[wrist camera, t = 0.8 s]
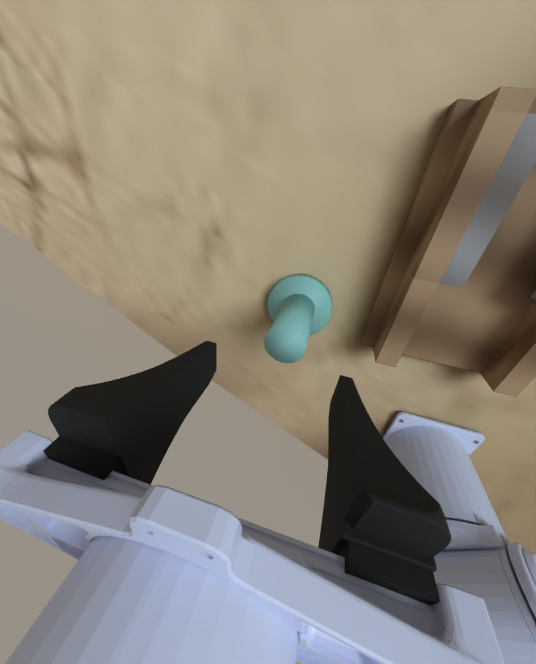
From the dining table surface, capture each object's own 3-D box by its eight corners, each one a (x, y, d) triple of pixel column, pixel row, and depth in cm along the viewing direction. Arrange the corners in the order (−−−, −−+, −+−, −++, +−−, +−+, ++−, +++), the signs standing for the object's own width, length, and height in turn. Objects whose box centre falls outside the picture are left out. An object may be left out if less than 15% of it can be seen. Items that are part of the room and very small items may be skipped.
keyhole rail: (507, 372, 21) (531, 401, 18) (360, 338, 22) (362, 359, 20) (718, 126, 12) (824, 109, 9) (451, 103, 14) (477, 84, 11)
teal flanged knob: (323, 336, 23) (316, 387, 18) (266, 323, 24) (242, 366, 18) (339, 281, 20) (337, 319, 15) (274, 267, 21) (248, 299, 15)
